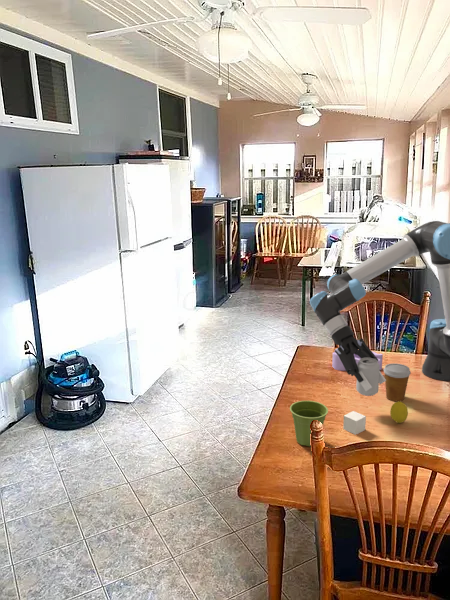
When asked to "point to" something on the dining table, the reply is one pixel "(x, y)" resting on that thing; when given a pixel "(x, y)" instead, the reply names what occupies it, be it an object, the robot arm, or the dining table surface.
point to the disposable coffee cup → (396, 381)
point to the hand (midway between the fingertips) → (376, 385)
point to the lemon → (399, 412)
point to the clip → (339, 366)
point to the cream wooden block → (354, 422)
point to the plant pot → (306, 418)
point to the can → (369, 375)
